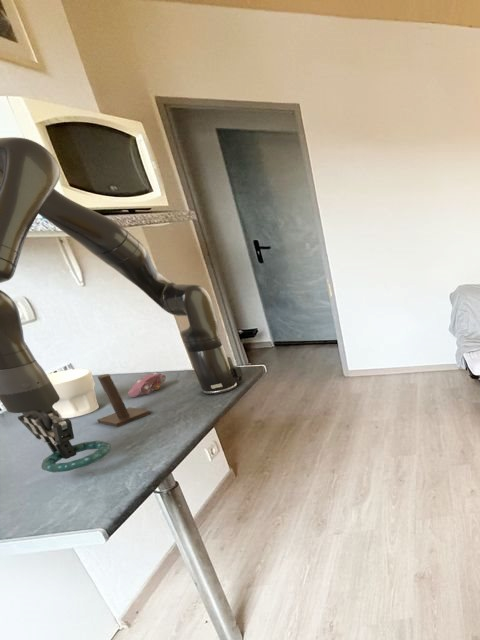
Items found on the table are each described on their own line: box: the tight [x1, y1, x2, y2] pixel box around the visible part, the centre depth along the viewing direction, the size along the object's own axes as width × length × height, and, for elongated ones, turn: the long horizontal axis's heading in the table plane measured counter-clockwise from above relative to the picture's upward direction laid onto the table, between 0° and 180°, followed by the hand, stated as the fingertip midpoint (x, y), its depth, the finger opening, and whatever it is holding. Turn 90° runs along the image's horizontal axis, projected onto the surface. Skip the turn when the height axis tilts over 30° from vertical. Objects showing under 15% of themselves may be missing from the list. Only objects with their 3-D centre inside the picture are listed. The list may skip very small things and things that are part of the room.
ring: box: [40, 440, 111, 474], centre depth 90 cm, size 11×11×2 cm
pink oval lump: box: [128, 372, 167, 398], centre depth 132 cm, size 10×5×7 cm, turn 179°
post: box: [96, 373, 151, 428], centre depth 114 cm, size 8×8×13 cm
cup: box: [46, 368, 100, 419], centre depth 118 cm, size 12×12×11 cm
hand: (66, 455), depth 92 cm, fingers closed on ring, 2 cm apart
